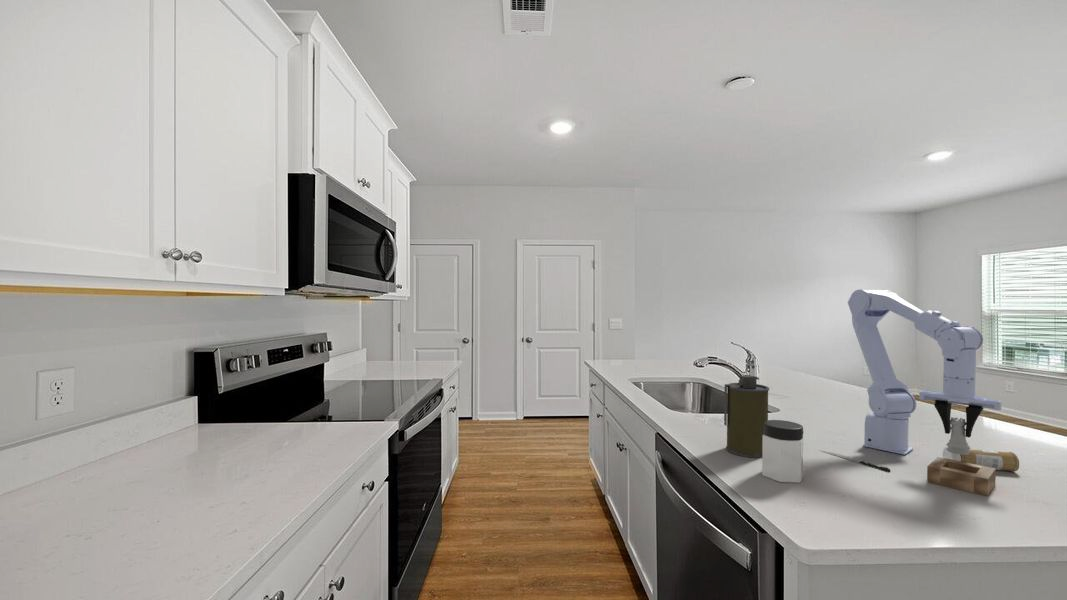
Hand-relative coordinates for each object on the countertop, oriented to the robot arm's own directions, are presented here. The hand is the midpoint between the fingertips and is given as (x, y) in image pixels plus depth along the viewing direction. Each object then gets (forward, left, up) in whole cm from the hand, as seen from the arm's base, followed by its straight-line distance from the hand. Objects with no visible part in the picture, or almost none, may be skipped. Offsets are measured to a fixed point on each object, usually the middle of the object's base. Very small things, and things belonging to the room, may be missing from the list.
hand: (957, 434), depth 115 cm
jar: (-25, -36, -9) cm, 45 cm away
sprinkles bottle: (+9, +11, -7) cm, 15 cm away
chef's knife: (-19, -10, -9) cm, 23 cm away
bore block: (+2, -9, -9) cm, 13 cm away
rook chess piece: (0, 0, -4) cm, 4 cm away
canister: (-39, -25, -9) cm, 47 cm away
